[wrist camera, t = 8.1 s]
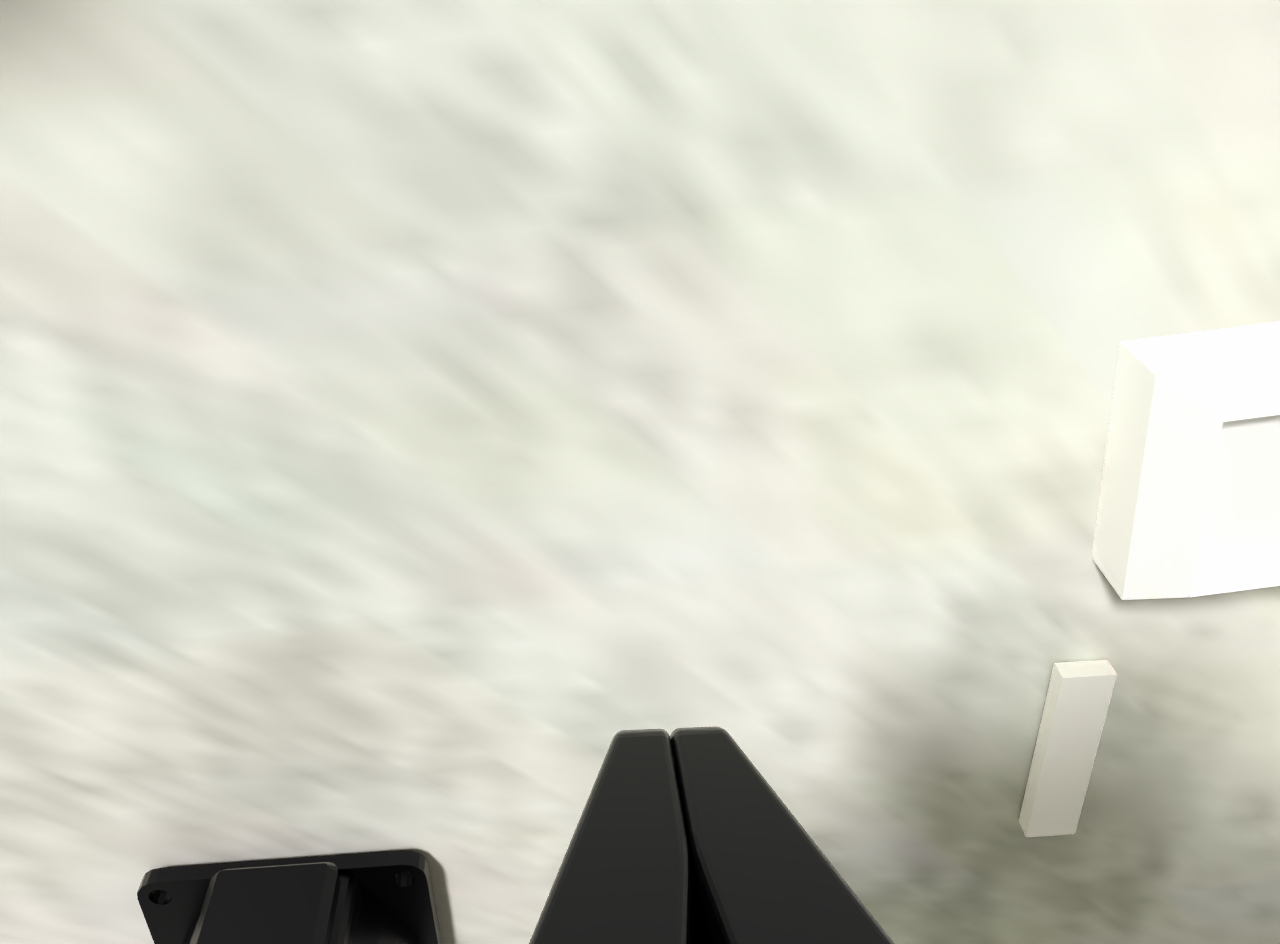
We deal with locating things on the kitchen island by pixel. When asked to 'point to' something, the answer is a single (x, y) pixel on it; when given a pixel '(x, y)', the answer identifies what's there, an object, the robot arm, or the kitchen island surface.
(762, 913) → the robot arm
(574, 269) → the kitchen island surface
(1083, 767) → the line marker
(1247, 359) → the soap bar
